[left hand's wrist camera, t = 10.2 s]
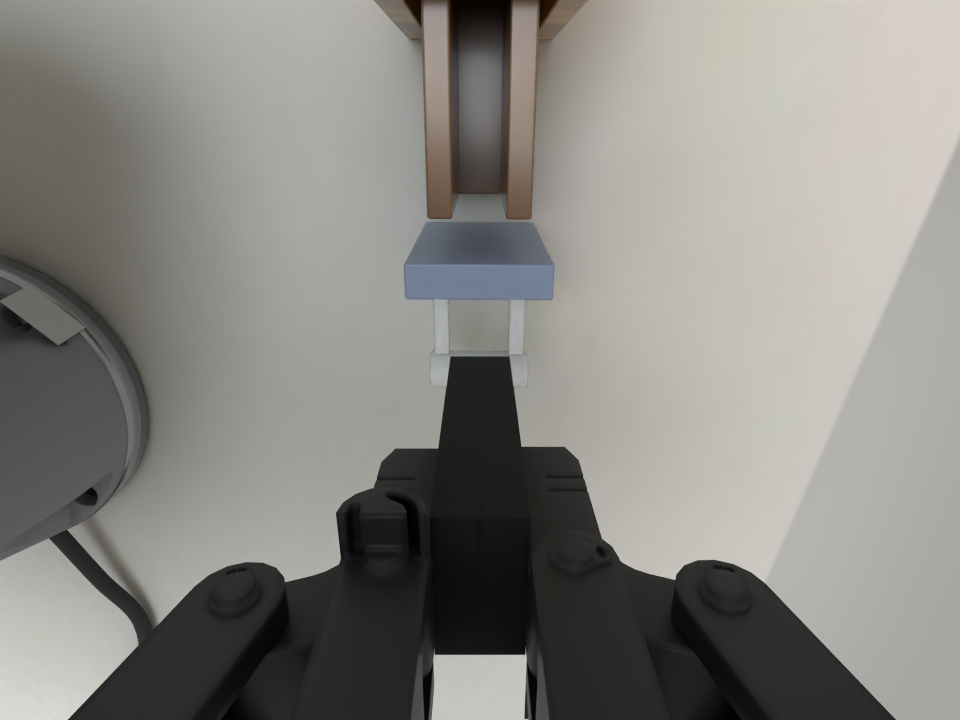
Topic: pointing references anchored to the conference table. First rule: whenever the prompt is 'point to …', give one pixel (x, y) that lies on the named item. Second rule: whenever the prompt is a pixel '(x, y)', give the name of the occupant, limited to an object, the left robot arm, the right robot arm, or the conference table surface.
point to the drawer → (479, 168)
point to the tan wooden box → (554, 14)
